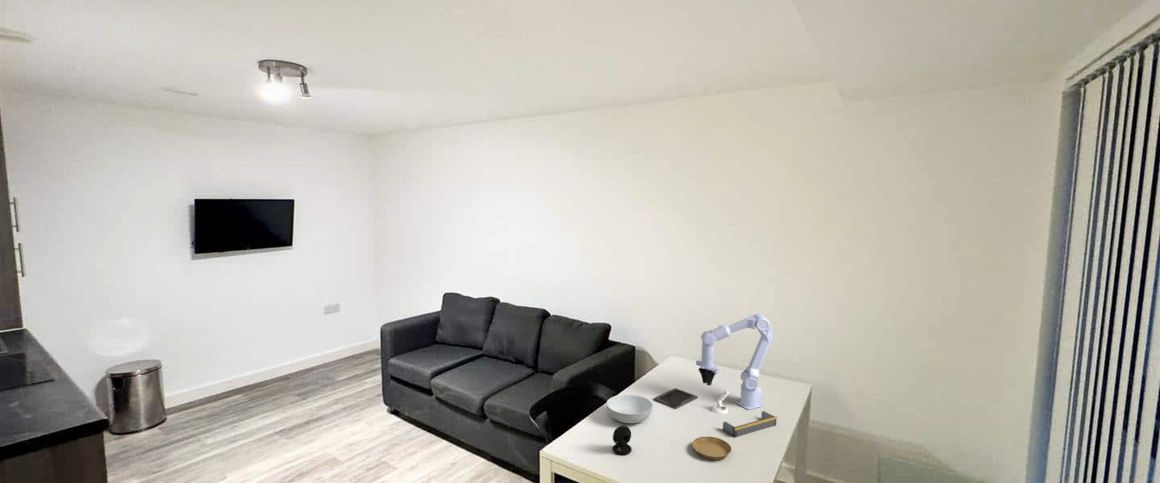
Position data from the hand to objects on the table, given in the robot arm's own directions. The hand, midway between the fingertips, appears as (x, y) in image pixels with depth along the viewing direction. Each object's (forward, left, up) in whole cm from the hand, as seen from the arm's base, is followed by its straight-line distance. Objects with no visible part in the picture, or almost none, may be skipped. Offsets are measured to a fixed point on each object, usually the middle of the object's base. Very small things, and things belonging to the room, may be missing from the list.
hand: (707, 383), depth 223 cm
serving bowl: (+42, -3, -10) cm, 43 cm away
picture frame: (+11, -10, -10) cm, 18 cm away
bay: (0, +28, -9) cm, 29 cm away
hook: (0, +9, -10) cm, 13 cm away
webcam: (+59, +19, -10) cm, 63 cm away
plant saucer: (+28, +35, -10) cm, 46 cm away
